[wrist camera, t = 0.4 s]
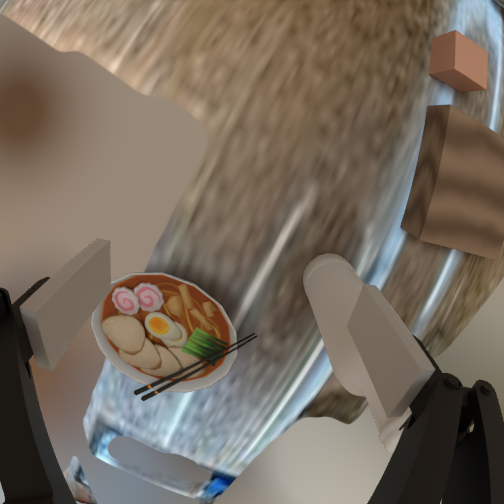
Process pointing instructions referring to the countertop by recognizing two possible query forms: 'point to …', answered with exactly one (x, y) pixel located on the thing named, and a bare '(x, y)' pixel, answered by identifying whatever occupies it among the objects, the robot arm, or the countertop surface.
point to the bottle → (345, 335)
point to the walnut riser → (458, 185)
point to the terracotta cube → (458, 62)
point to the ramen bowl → (165, 333)
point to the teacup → (500, 2)
